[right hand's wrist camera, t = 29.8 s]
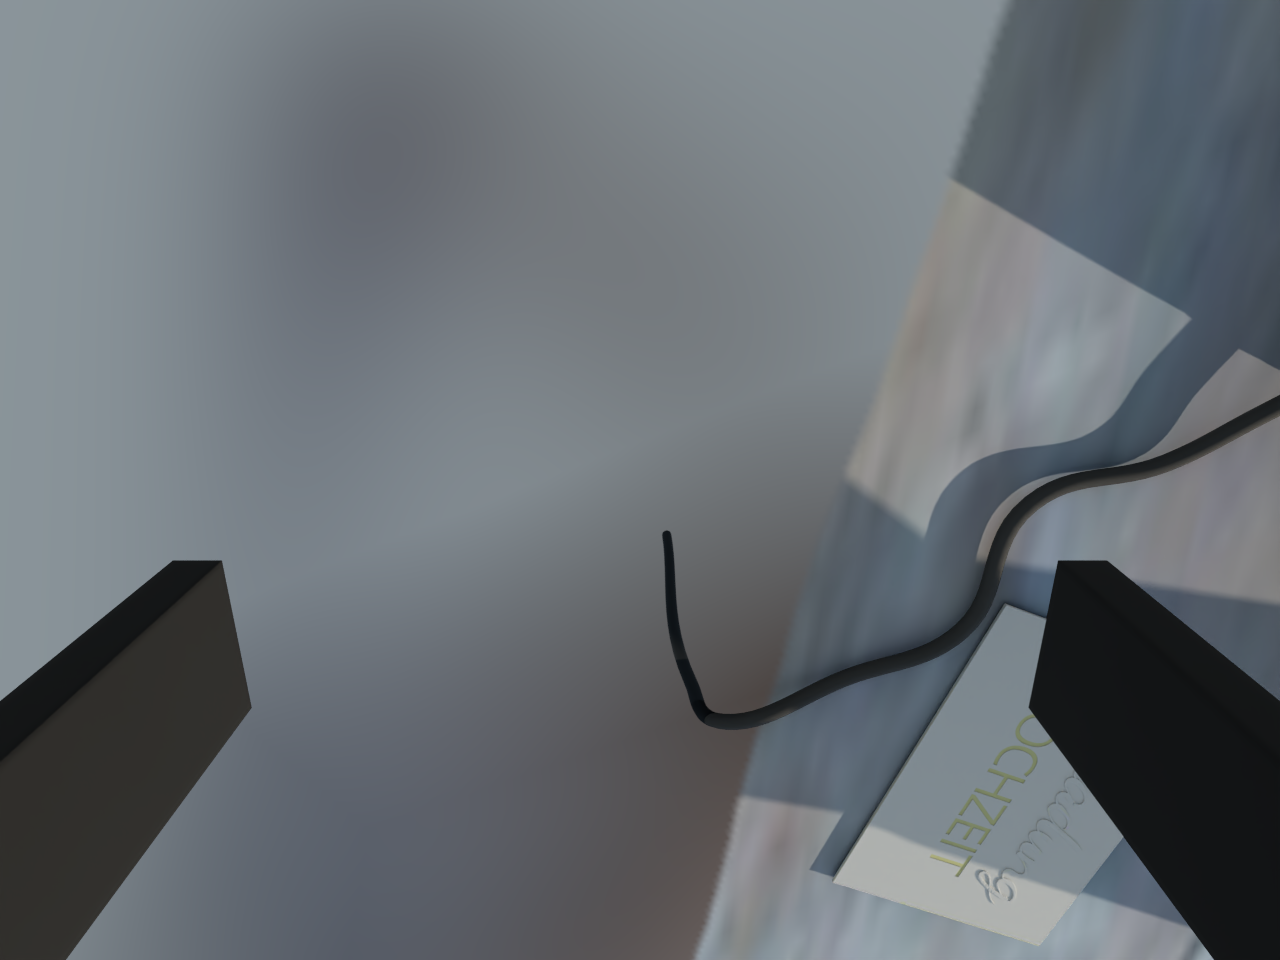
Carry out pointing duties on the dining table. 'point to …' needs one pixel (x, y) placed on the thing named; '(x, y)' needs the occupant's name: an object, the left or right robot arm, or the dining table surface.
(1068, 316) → the dining table surface
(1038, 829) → the invitation card
